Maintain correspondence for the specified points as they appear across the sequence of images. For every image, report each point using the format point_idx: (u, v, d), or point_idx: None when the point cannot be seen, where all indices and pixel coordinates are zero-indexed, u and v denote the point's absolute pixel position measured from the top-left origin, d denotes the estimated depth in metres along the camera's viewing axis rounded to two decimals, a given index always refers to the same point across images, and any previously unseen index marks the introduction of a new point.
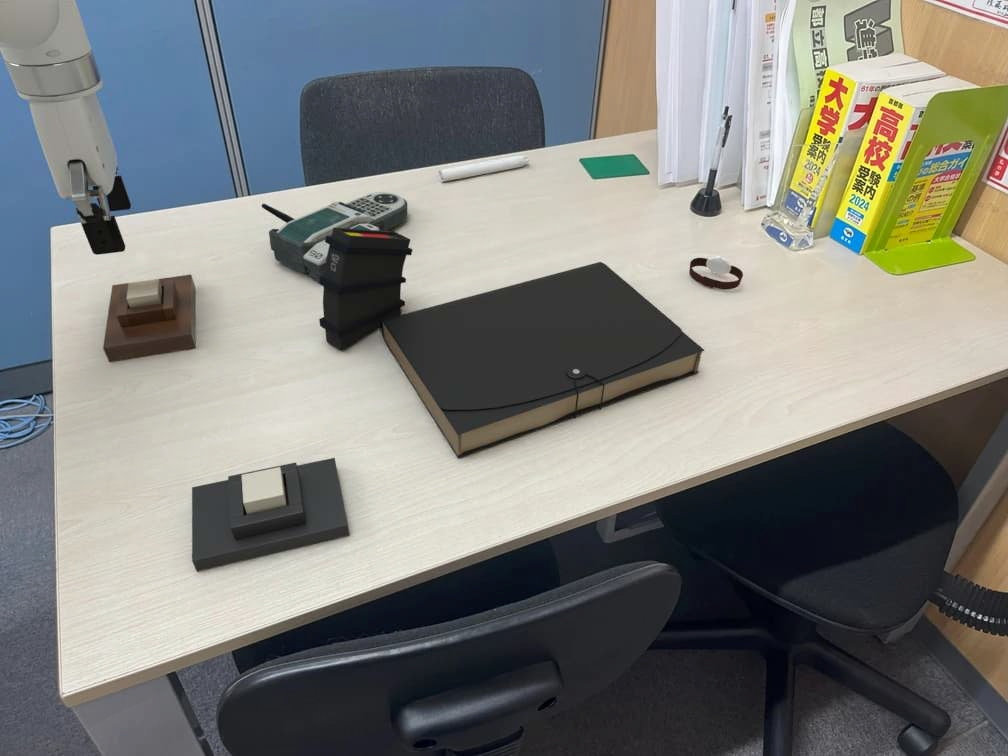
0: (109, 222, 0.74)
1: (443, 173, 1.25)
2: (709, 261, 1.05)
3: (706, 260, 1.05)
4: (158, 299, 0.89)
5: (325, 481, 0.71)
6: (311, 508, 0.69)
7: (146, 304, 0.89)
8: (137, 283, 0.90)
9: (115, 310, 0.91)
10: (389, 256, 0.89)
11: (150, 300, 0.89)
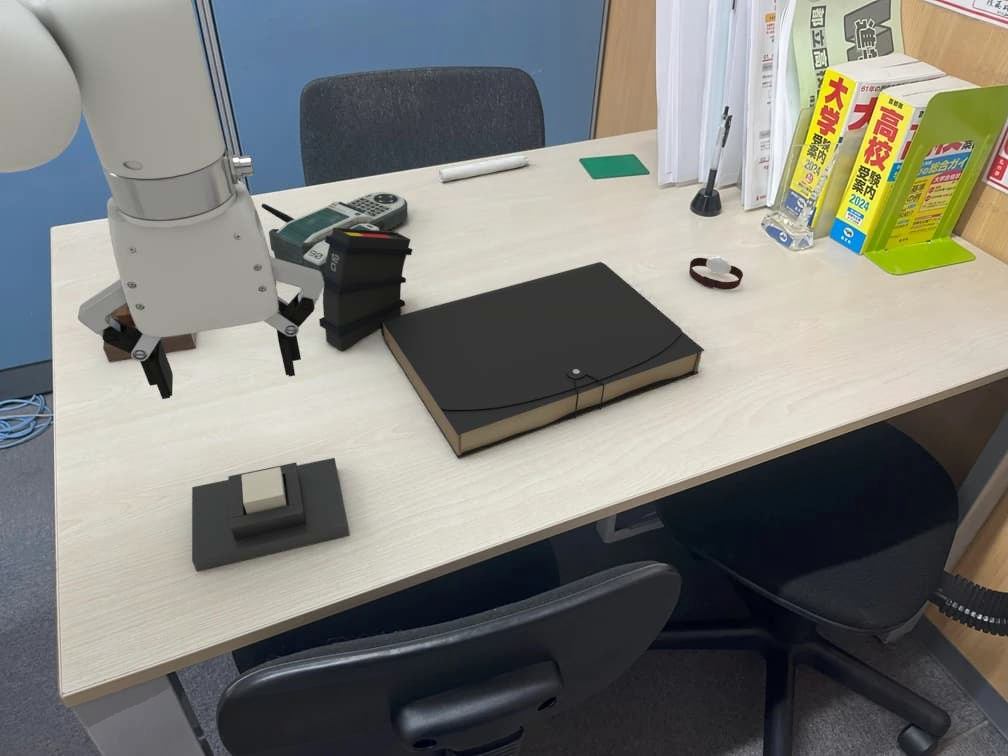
0: None
1: (443, 173, 1.25)
2: (709, 261, 1.05)
3: (706, 260, 1.05)
4: None
5: (325, 481, 0.71)
6: (311, 508, 0.69)
7: None
8: None
9: (115, 310, 0.91)
10: (389, 256, 0.89)
11: None
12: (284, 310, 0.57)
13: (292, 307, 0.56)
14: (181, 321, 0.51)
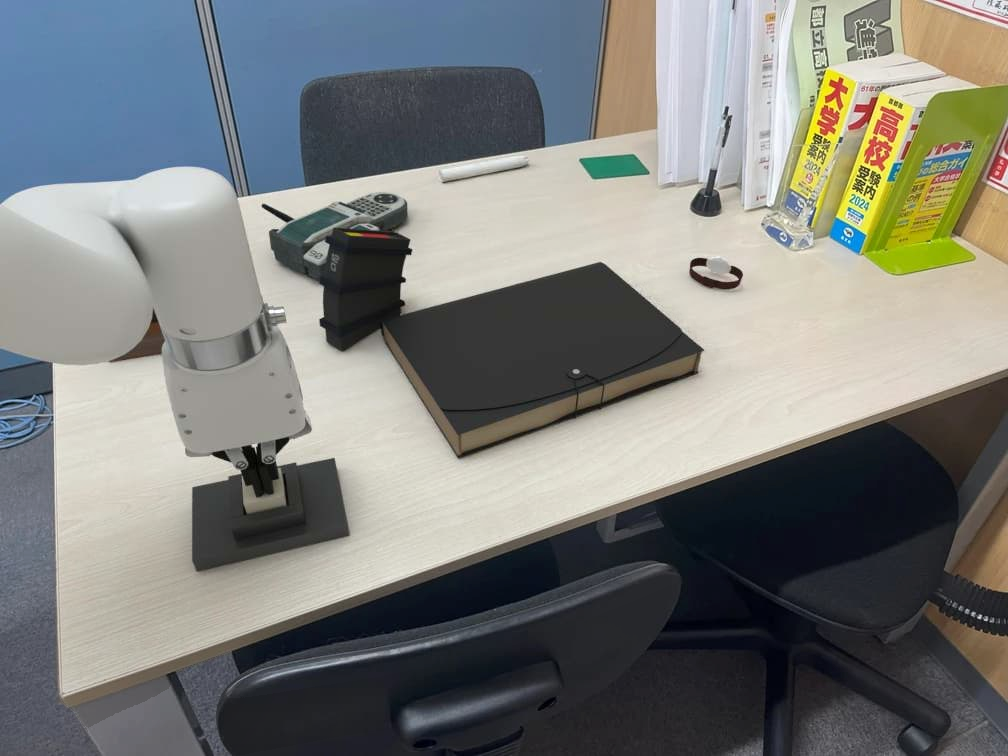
0: (248, 469, 0.64)
1: (443, 173, 1.25)
2: (709, 261, 1.05)
3: (706, 260, 1.05)
4: None
5: (325, 481, 0.71)
6: (311, 508, 0.69)
7: None
8: None
9: None
10: (389, 256, 0.89)
11: None
12: None
13: None
14: (222, 440, 0.59)
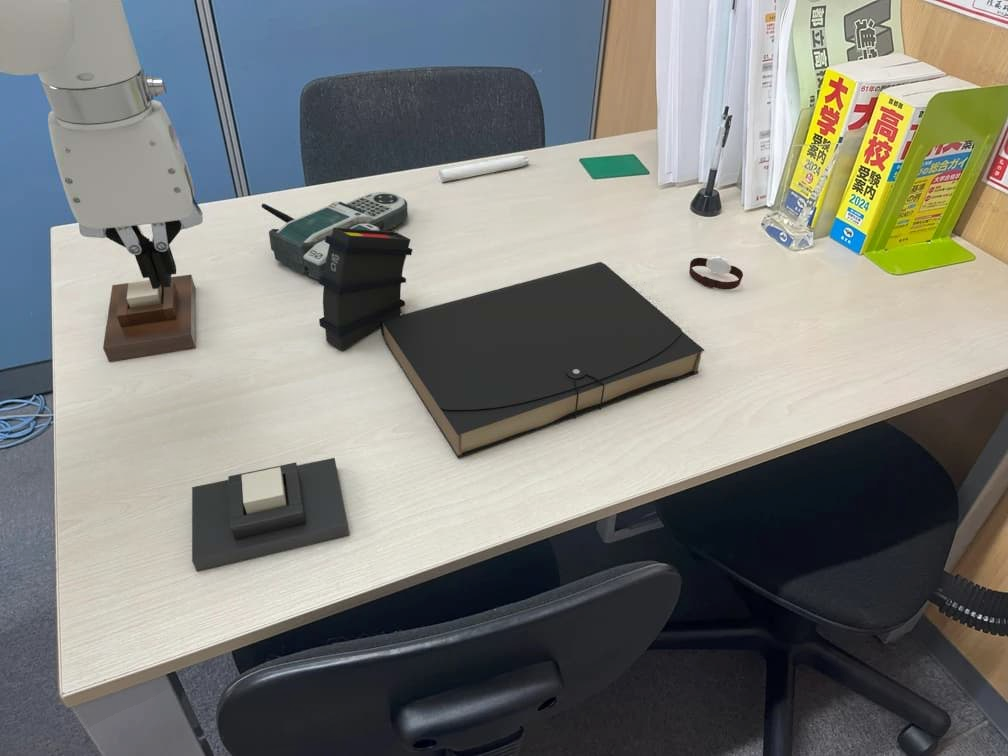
0: None
1: (443, 173, 1.25)
2: (709, 261, 1.05)
3: (706, 260, 1.05)
4: (158, 299, 0.89)
5: (325, 481, 0.71)
6: (311, 508, 0.69)
7: (146, 304, 0.89)
8: (137, 283, 0.90)
9: (115, 310, 0.91)
10: (389, 256, 0.89)
11: (150, 300, 0.89)
12: None
13: None
14: (111, 215, 0.64)
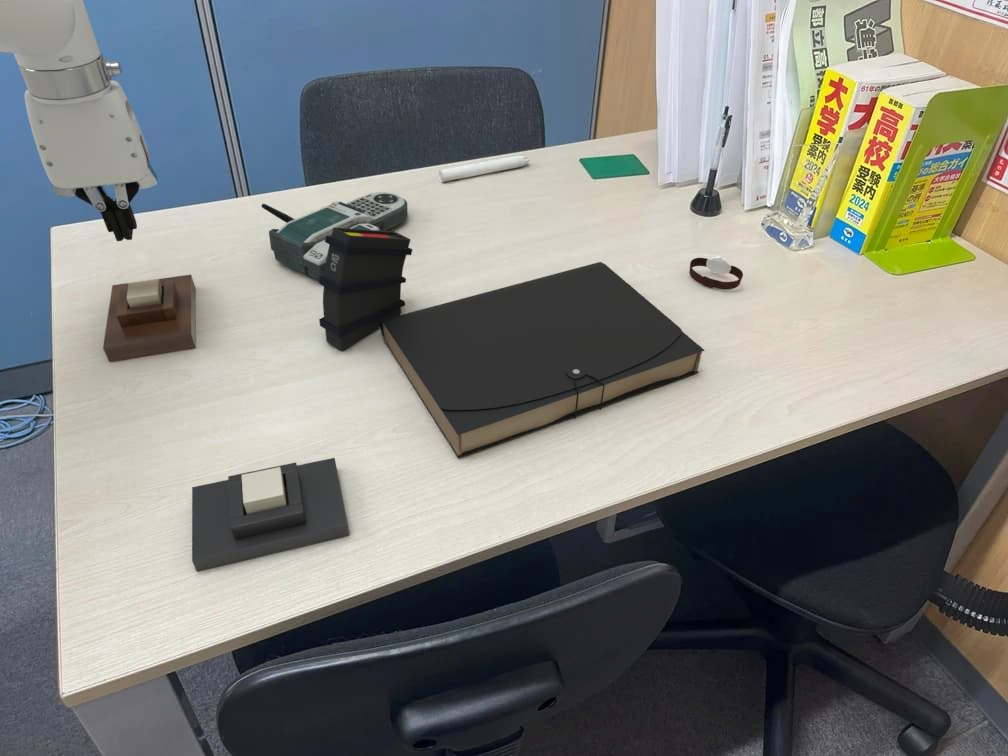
0: None
1: (443, 173, 1.25)
2: (709, 261, 1.05)
3: (706, 260, 1.05)
4: (158, 299, 0.89)
5: (325, 481, 0.71)
6: (311, 508, 0.69)
7: (146, 304, 0.89)
8: (137, 283, 0.90)
9: (115, 310, 0.91)
10: (389, 256, 0.89)
11: (150, 300, 0.89)
12: None
13: None
14: (79, 176, 0.77)
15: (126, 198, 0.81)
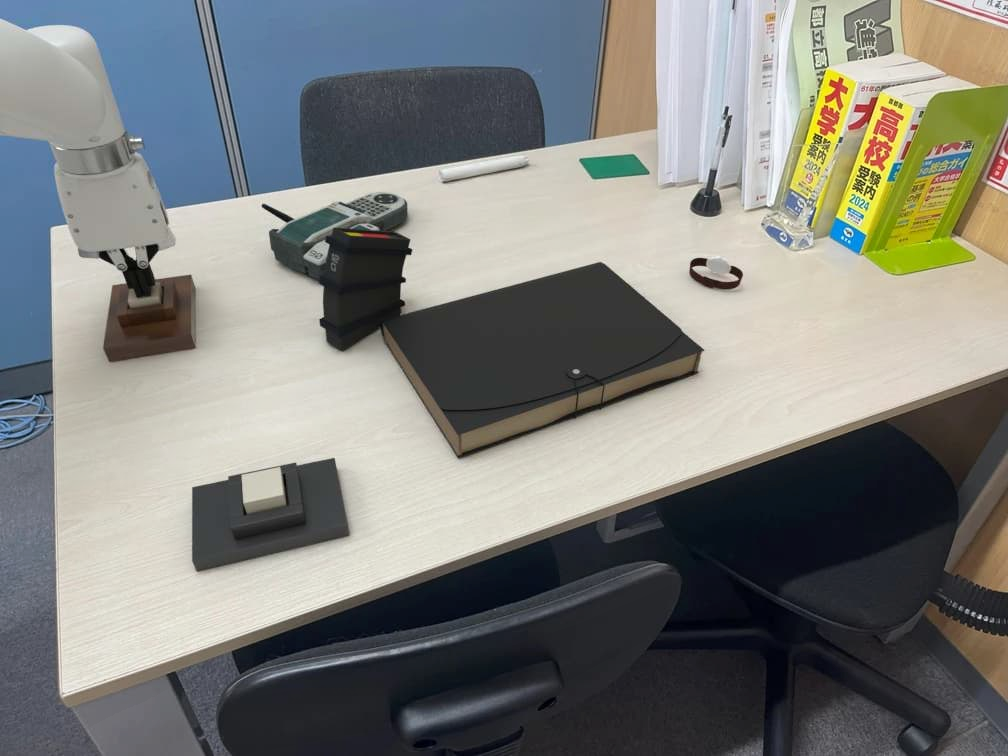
0: (128, 272, 0.87)
1: (443, 173, 1.25)
2: (709, 261, 1.05)
3: (706, 260, 1.05)
4: (159, 302, 0.89)
5: (325, 481, 0.71)
6: (311, 508, 0.69)
7: None
8: None
9: (115, 310, 0.91)
10: (389, 256, 0.89)
11: (151, 303, 0.89)
12: None
13: None
14: (103, 241, 0.82)
15: (146, 259, 0.86)
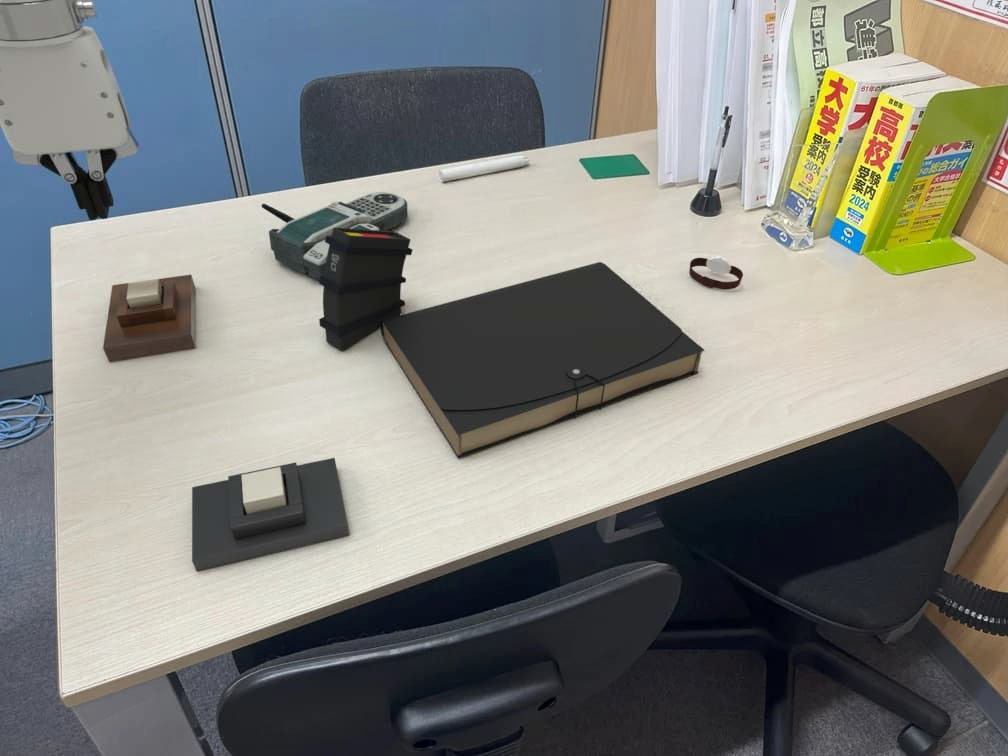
0: None
1: (443, 173, 1.25)
2: (709, 261, 1.05)
3: (706, 260, 1.05)
4: (158, 299, 0.89)
5: (325, 481, 0.71)
6: (311, 508, 0.69)
7: (146, 304, 0.89)
8: (137, 283, 0.90)
9: (115, 310, 0.91)
10: (389, 256, 0.89)
11: (150, 300, 0.89)
12: None
13: None
14: (44, 139, 0.65)
15: (101, 168, 0.69)
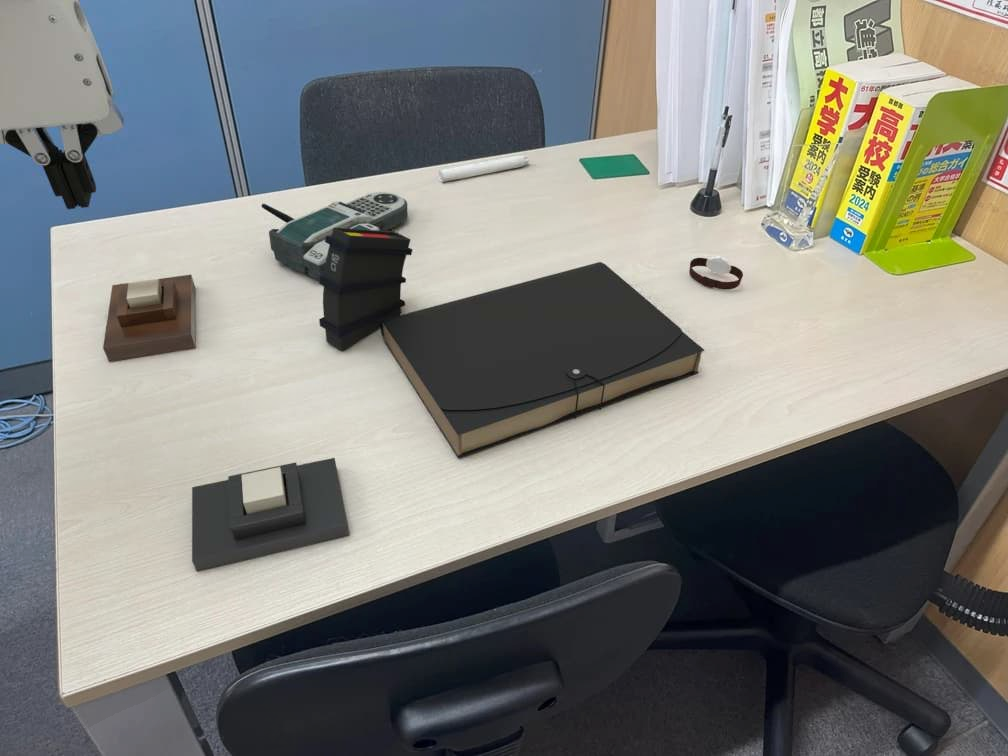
0: None
1: (443, 173, 1.25)
2: (709, 261, 1.05)
3: (706, 260, 1.05)
4: (158, 299, 0.89)
5: (325, 481, 0.71)
6: (311, 508, 0.69)
7: (146, 304, 0.89)
8: (137, 283, 0.90)
9: (115, 310, 0.91)
10: (389, 256, 0.89)
11: (150, 300, 0.89)
12: None
13: None
14: (8, 111, 0.54)
15: (79, 147, 0.57)
